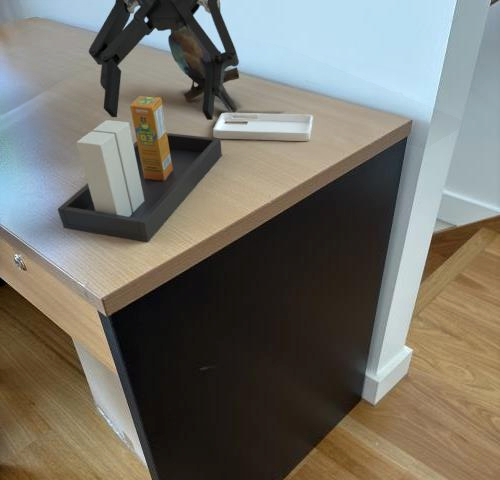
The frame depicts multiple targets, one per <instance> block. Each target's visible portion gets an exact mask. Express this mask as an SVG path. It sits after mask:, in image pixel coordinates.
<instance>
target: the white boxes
mask: <svg viewBox="0 0 500 480" xmlns="http://www.w3.org/2000/svg"><path fill="white" fill-rule="evenodd" d="M133 144H134V141H133V135H132V130H131V126H130V122H129V121H119V120H111V119H110V120H109V119H106V120H104V121H103V122H102V123H100V124H99V125H98V126H96V127H95V128H94V129H92V131H91V130H90V131H89V132H88V133H86V134H85V135H84V136H82V137H81V138H80V139H78V140H77V141H76V147H77V150H78V153H79V157H80V160H81V164H82V168H83V171H84V175H85V178H86V182H87V183H88V186H89V189H90V193H91V197H92V200H93V204H94V207H95V211H97V212H103V213H109V214H116V215H122V216H128V217H130V216H131V214H132V212H134V211H135V210H136V209H137V208H138V207H139V206H140V205H141V204H142V203H143V202H144V196H143V191H142V186H141V181H140V176H139V171H138V166H137V161H136V156H135V151H134V146H133Z"/></svg>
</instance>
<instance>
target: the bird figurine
mask: <svg viewBox="0 0 500 480" xmlns="http://www.w3.org/2000/svg"><path fill="white" fill-rule="evenodd" d="M167 37H168V39H167V41H168V47H169V49H170V52H171V55H172V58H173V60H174V61H175V63H176V64H177V65H178V67H179V68H180V70H181V71H182V72H183V73H184V74H185V75H186V76H187V77H188V78H189V79H191V81H192V83H191V86H190V89H189V90H188V91H186V92H184V93H183V97H184V99H185V101H186V102H189V101H190V100H193V99H195V98H197V97H198V96H201V95H203V94H204V88H205V77H206V66H207V61H211V60H210V59H209V57H208V56H207V55H206V53H205V52H204V51H203V49H202V48H201V47H200V45H199V44H198V42H197V41H196V40H195V38H194V37H193V36H192V35H191V34H190V33H189V31H188V30H187V29H186V27H185V26H184V27H183V28H181V29H180V31H173V30H170V34H169V35H168V36H167ZM239 79H240V73H239V68H238V67H237V66H235V67H234V68H231V69H228V70H225V71H224V79H223V84H225V83H228V82H230V81H235V80H239ZM195 84H197V85H196V86H195ZM215 97H217V98H218V99H219V100H220V101H221V103H222V104H223V105H224V107H225V108H226V109H227V110H228V112H229V113H237V111H238V107H237V105H236V104H235V102H234V100H233V99H232V98H231V96H230V94H229V93H228V92H227V89H226V88H225V86H224V85H223V89H222V91H221V93H215Z"/></svg>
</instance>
